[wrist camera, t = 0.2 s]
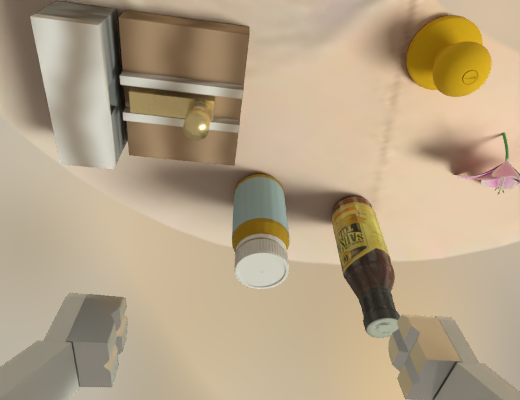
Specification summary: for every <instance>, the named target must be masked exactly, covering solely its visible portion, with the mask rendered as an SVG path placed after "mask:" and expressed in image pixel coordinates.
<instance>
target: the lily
mask: <svg viewBox="0 0 520 400" xmlns="http://www.w3.org/2000/svg"><path fill="white" fill-rule="evenodd" d="M503 138H504V143H505V149H506V159H505V162H504V163H503V164H501V165H499V166H497V167H496V168H494V169H492V170H490V171H488V172H485V173H483V174H480V175H476V176H461V175H453V176H455V177H457V178H461V179H477V180H482V181H481V184H482V185H483V186H486V187H492V188H496V189H497V188H498V189H500V190H501V189H512V188H515V187H516V185H518V186H520V174H519V173H518V172H517V171H516V170H515V169H514V168H513V167H512V166H511V165H510V164H509V161H508V145H507V140H506V135H505V133H503ZM496 189H495V190H496ZM500 190H499V192H498V194H499V193H500ZM503 193H504V190H503Z"/></svg>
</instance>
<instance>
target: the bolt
mask: <svg viewBox="0 0 520 400" xmlns="http://www.w3.org/2000/svg"><path fill="white" fill-rule="evenodd" d="M129 99H130V112H131V113H140V114H149V115H158V116H167V117H176V118H185V121H184V124H183V132H184V134H185V135H186V137H188V138H189V139H191V140H194V141H200V140H203V139H204V138H206V137H207V135H208V133H209V127H210V121H212V122H213V118H214V107H215V96H213V95H204V94H196V93H187V92H179V91H170V90H161V89H153V88H144V87H136V86H132V87H131V89H130V91H129Z"/></svg>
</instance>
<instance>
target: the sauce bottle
mask: <svg viewBox="0 0 520 400" xmlns="http://www.w3.org/2000/svg"><path fill="white" fill-rule="evenodd" d="M332 225H333V229H334V234H335V239H336V243H337V248H338V253H339V257H340V262H341V266H342V271H343V275H344V278H345V279H346V280H347V282H348V284H349V285H350V287H351V288H352V290H353V291H354V293H355V294H356V296H357V297H358V299H359V302H360V305H361V307H362V312H363V315H364V320H363V322H364V326H365V330H366V332H367V333H368V334H369V335H370V336H372V337H376V338H384V337H390V336H391V335H392V333H393V332H395V331H396V330H397V329H399V328H398V325H397V321H398V319H399V317H400V315H399V314H398V312H397V311H396V309H395V306H394V303H393V299H392V294H391V290H392V287H393V283H394V279H395V277H394V271H393V267H392V265H391V260H390V256H389V253H388V250H387V247H386V244H385V242H384V239H383V236H382V233H381V230H380V227H379V224H378V221H377V218H376V215H375V212H374V210H373V209H372V206H371V204H370V203H369V202H368V201H367V200H366V199H365V198H362V197H358V196H352V197H347V198H345V199H343V200H341V201H339V202H338V203H337V204H336V205H335V206H334V208H333V212H332Z"/></svg>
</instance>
